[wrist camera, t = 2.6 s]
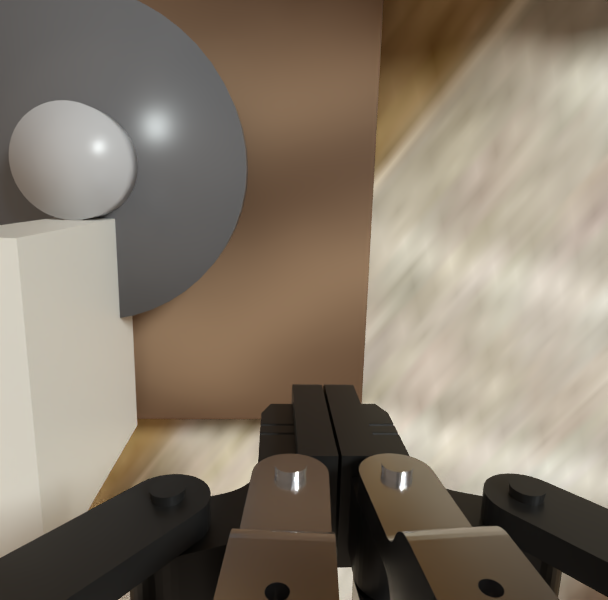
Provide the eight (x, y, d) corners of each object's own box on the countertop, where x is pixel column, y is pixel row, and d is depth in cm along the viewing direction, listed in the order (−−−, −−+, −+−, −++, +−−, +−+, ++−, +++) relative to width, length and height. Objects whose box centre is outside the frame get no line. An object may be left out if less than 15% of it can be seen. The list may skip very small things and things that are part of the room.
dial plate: (-195, -138, 15) (-247, -175, 14) (380, -104, 16) (390, -133, 15) (-112, 400, 19) (-146, 418, 17) (354, 402, 20) (360, 419, 18)
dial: (-77, -7, 14) (-395, -182, 8) (248, 9, 15) (225, -142, 8) (-25, 425, 17) (-225, 583, 10) (247, 425, 18) (228, 576, 11)
